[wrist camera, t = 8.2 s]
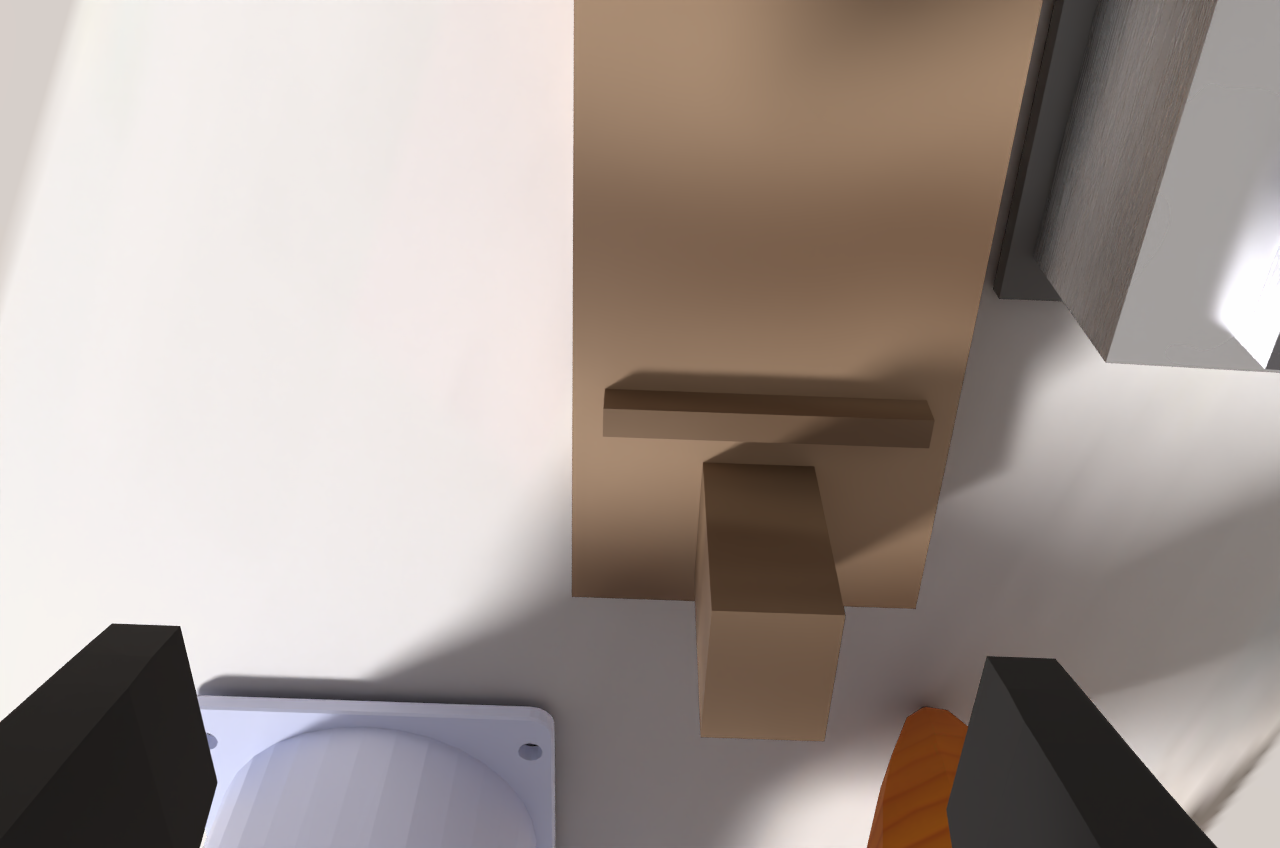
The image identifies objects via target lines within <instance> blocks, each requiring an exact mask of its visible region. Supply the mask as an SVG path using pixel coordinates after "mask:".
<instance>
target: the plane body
mask: <svg viewBox="0 0 1280 848" xmlns="http://www.w3.org/2000/svg"><path fill="white" fill-rule="evenodd" d="M1042 2H1043V0H574V146H573V413H572V597H594V598H623V599H651V600H680V601H695V615H696V639H697V663H698V687H699V711H700V735H701V737H712V738H741V739H771V740H800V741H824V740H825V734H826V728H827V722H828V716H829V710H830V704H831V699H832V693H833V687H834V681H835V675H836V669H837V663H838V657H839V651H840V645H841V639H842V633H843V627H844V621H845V611H844V606H851V607H880V608H908V609H916V604H917V599H918V595H919V590H920V585H921V580H922V576H923V571H924V566H925V561H926V557H927V552H928V547H929V542H930V537H931V533H932V528H933V523H934V518H935V514H936V509H937V504H938V499H939V494H940V490H941V485H942V480H943V475H944V471H945V466H946V461H947V456H948V451H949V447H950V442H951V437H952V432H953V428H954V423H955V418H956V413H957V408H958V404H959V399H960V394H961V389H962V385H963V380H964V375H965V370H966V365H967V361H968V356H969V351H970V346H971V342H972V337H973V332H974V327H975V322H976V318H977V313H978V308H979V303H980V299H981V294H982V289H983V284H984V279H985V275H986V270H987V265H988V260H989V256H990V251H991V246H992V241H993V236H994V232H995V227H996V222H997V217H998V213H999V208H1000V203H1001V198H1002V194H1003V189H1004V184H1005V179H1006V174H1007V170H1008V165H1009V160H1010V155H1011V151H1012V146H1013V141H1014V136H1015V131H1016V127H1017V122H1018V117H1019V112H1020V108H1021V103H1022V98H1023V93H1024V88H1025V84H1026V79H1027V74H1028V69H1029V65H1030V60H1031V55H1032V50H1033V45H1034V41H1035V36H1036V31H1037V26H1038V22H1039V17H1040V12H1041V7H1042Z"/></svg>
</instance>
